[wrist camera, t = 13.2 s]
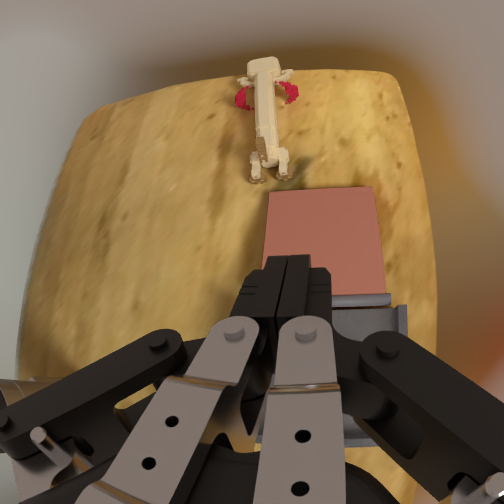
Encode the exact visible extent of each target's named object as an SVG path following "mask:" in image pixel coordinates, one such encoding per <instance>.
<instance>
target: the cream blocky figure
mask: <svg viewBox="0 0 504 504" xmlns="http://www.w3.org/2000/svg"><path fill="white" fill-rule="evenodd" d="M247 74H248V77H249V78H248V77H243V78H239V79H238V83H239V84H241V86H243V87H246V88H247V89H248V88H251V87H255V91H254V94H255V122H256V138H255V145H256V149H257V151H254V152H252V155H250V163H251V165H252V170H251V175H249V181H250V182H251V184H253V183H256V184H262V183H263V182H267V179H266V174H265V173H260V172H261V167H262V166H263V167H266V168H270V167H277V165H279V171H276V177H277V180H283V181H286V180H289V179H292V178H293V171H292V169H289V170H287V169H288V168H287V163H288V162H290V161H289V153H288V150H285V147H281V148H279V138H278V129H277V117H276V105H275V90H274V89H275V87H274V85H279V84H282V87H283V86H285V91H286V94H289V97H291V98H290V99H288V102H289V104H290V103H291V102H292V101H294V100H296V98H297V96H299V93H298V88H297V86H295V85H291V84H290V83H288V82H286V80H287V79H289V78H290V77H291V76H290V75H294V73H293V69H288V70H283V71H282V74H281V68H280V65H279V62H278V59H277V58H275V57H267V58H262V59H255V60H251V61H250V62H249V63H248V64H247ZM249 79H250V81H251V82H250V81H249ZM283 81H284V82H283ZM244 90H245V88H242V90H240V92H238V93H237V95H236V96H235V104H236V106H239V107H241V108H242V109H245V108H246V109H248V110H250V107H249V105H247V106H245V105H246V97H245V91H244ZM285 104H287V103H285ZM252 110H254V108H252Z"/></svg>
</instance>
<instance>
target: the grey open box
mask: <svg viewBox="0 0 504 504" xmlns="http://www.w3.org/2000/svg"><path fill="white" fill-rule="evenodd" d="M332 324H333V327H334V328H335V330H336V331H337V332H338V333H339V334H340V335H342V336H344V337H346V338H348V339H352V340H356V341H361V342H362V341H363V340H364V339H365V338H366V337H367V336H368V335H370V334H372V333H375V332H378V331H395V332H399V333H401V334H403V335H405V336H407V337H408V329H407V305H398V306H396V307H395V308H383V309H356V310H332ZM274 381H275V374H272V379H271V384H270V388H274ZM265 414H266V410H265V413H264V416H263V419H262V422H261V425H260V428H259V431H258V434H257V437H256V440H255V443H261V444H262V437H263V430H264V422H265ZM342 418H343V433H344V447H374V446H378V445H377V444H376V443H375V442H374V441H373V440H372V439H371V438H370V437H369V436H368V435H367V434H366V433H365V432H364V431H363V430H362V429H361V428H360V427H359V426H358V425H357V424H356V423H355V422H354V420H353V417H352V416H350V415H347V414H343V413H342Z"/></svg>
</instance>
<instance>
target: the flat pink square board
mask: <svg viewBox="0 0 504 504" xmlns="http://www.w3.org/2000/svg"><path fill="white" fill-rule="evenodd" d="M300 254H310V256H311V268H315V267H325V268H326V269H327V270H328V271H329V272H330V274H331V283H332V307H355V306H382V305H391V294H390V293H386V287H385V276H384V265H383V256H382V248H381V240H380V232H379V225H378V218H377V211H376V205H375V199H374V193H373V187H347V188H325V189H308V190H292V191H278V192H270V193H269V203H268V213H267V223H266V233H265V243H264V252H263V262H262V270H263V269H264V266H265V263H266V260H267V257H268V256H278V255H289V256H290V255H300Z"/></svg>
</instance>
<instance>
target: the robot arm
mask: <svg viewBox="0 0 504 504" xmlns="http://www.w3.org/2000/svg"><path fill="white" fill-rule="evenodd" d="M272 374H275V381H274V388H270V384H271V379H272ZM151 383H153V385H154V387H155V389H156V392H154V393H153V394H151V395H149V396H148V397H146V398H144V399H142V400H140V401H139V402H137V403H135V404H133V405H132V406H130V407H128V408H126V409H117V408H115V407H114V406H115V405H116V404H117V403H118V402H119V401H121V400H123V399H125V398H126V397H128V396H130V395H132V394H134V393H135V392H137V391H139V390H141V389H143V388H144V387H146V386H148V385H150V384H151ZM265 410H266V414H265V422H264V430H263V437H262V445H261V451H258V452H254V445H255V440H256V437H257V434H258V431H259V428H260V425H261V422H262V419H263V416H264V413H265ZM342 413H343V414H347V415H350V416H352V417H353V420H354V422H355V423H356V424H357V425H358V426H359V427H360V428H361V429H362V430H363V431H364V432H365V433H366V434H367V435H368V436H369V437H370V438H371V439H372V440H373V441H374V442H375V443H376V444H377V445H378V446H379V447H380V448H381V449H382V450H384V451H385V452H386V453H387V454H388V455H389V456H390V457H391V458H392V459H393V460H394V461H395V462H396V463H397V464H398V465H399V466H400V467H401V468H403V469H404V470H405V471H406V472H407V473H408V474H409V475H410V476H411V477H412V478H413V479H414V480H416V481H417V482H418V483H419V484H420V485H421V486H422V487H423V488H424V489H425V490H427V491H428V492H429V493H430V494H431V495H432V496H433V497H435V499H437V500H438V501H439V504H504V403H502V402H501V401H500V400H498V399H497V398H495V397H494V396H492V395H491V394H490V393H488V392H487V391H485V390H484V389H483V388H481V387H480V386H478V385H477V384H475V383H474V382H473V381H471V380H470V379H468V378H467V377H465V376H464V375H462V374H461V373H459V372H458V371H457V370H455V369H454V368H452V367H451V366H449V365H448V364H446V363H445V362H443V361H442V360H440V359H439V358H438V357H436V356H435V355H433V354H432V353H430V352H429V351H427V350H426V349H424V348H423V347H421V346H420V345H418V344H417V343H415V342H414V341H413V340H411V339H410V338H408V337H407V336H405V335H403V334H401V333H399V332H395V331H378V332H375V333H372V334H370V335H368V336H367V337H366V338H365V339H364V340H363V341H362V342H361V341H356V340H352V339H348V338H346V337H344V336H342V335H340V334H339V333H338V332H337V331H336V330H335V328H334V327H333V324H332V283H331V274H330V272H329V271H328V270H327V269H326V268H325V267H315V268H311V256H310V254H300V255H290V256H289V255H278V256H268V257H267V260H266V263H265V266H264V269H263V270H253V271H252V272H251V273H250V274H249V275H248V276H247V277H246V278H245V280H244V282H243V285H242V288H241V289H240V292H239V295H238V297H237V299H236V301H235V304H234V306H233V309H232V311H231V313H230V316H229V318H225V319H223V320H221V321H219V322H218V323H216V324H215V325H214V326H213V327H212V329H211V330H210V332H209V334H208V335H207V337H206V338H202V339H196V340H191V341H185V342H183V340H182V338H181V335H180V334H179V333H178V332H177V331H175V330H172V329H160V330H156V331H153V332H151V333H149V334H147V335H145V336H143V337H141V338H139V339H137V340H135V341H134V342H132V343H130V344H128V345H126V346H124V347H122V348H120V349H119V350H117V351H115V352H113V353H111V354H109V355H107V356H105V357H103V358H101V359H100V360H98V361H96V362H94V363H92V364H90V365H88V366H86V367H84V368H82V369H80V370H78V371H76V372H75V373H73V374H71V375H69V376H67V377H65V378H49V377H30V378H29V381H20V380H7V379H0V453H7V454H8V456H9V457H10V458H11V460H12V464H13V470H14V475H15V479H16V483H17V488H18V491H19V496H20V499H21V502H20V503H19V504H400V503H399V502H398V501H397V500H396V499H395V498H394V497H393V496H392V494H391V493H390V492H389V491H388V490H387V489H386V488H385V487H384V486H383V485H382V484H381V483H380V482H379V481H378V480H377V479H376V478H375V477H373V476H372V475H371V474H370V473H368V472H366V471H365V470H363V469H361V468H359V467H357V466H355V465H353V464H350V463H347V462H345V453H344V433H343V418H342Z"/></svg>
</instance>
